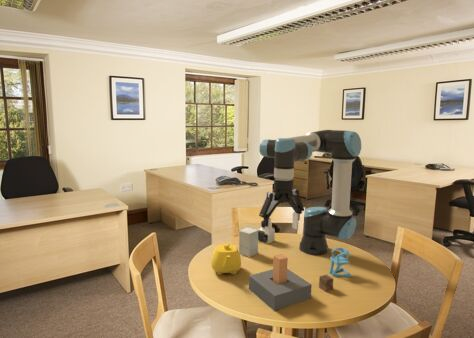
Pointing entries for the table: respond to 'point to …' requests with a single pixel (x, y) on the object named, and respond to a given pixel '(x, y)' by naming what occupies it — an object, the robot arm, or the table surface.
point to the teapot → (226, 259)
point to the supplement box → (248, 242)
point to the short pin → (326, 283)
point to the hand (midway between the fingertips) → (281, 231)
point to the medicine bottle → (264, 237)
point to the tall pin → (280, 269)
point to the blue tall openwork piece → (339, 262)
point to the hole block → (279, 289)
